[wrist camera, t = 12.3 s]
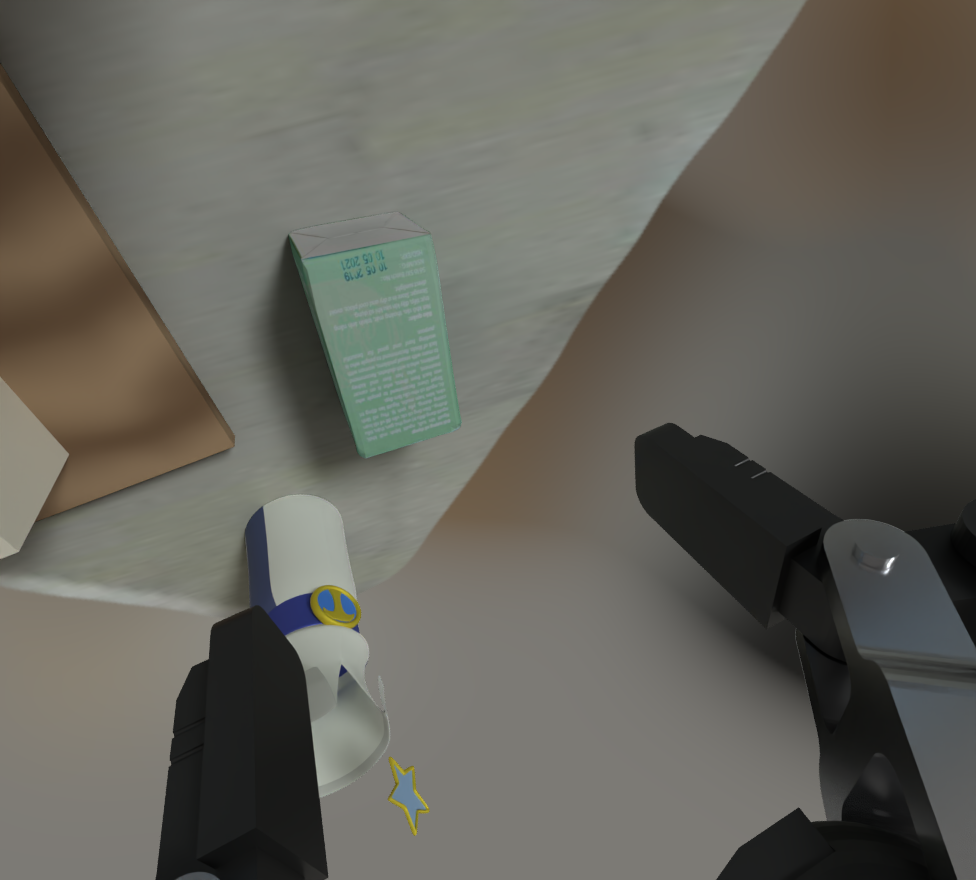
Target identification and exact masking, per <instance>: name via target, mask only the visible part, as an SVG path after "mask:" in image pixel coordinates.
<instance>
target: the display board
mask: <svg viewBox="0 0 976 880" xmlns="http://www.w3.org/2000/svg"><path fill="white" fill-rule="evenodd" d="M0 377H1V378H2V379H3V380H4V381H5V383H6V384H7V385H8V386H9V387H10V388H11V389H12V390H13V392H14V393H15V394H16V395H17V396H18V397H19V398H20V399H21V401H22V402H23V403H24V404H25V405H26V406H27V407H28V408H29V410H30V411H31V412H32V413H33V414H34V415H35V416H36V417H37V419H38V420H39V421H40V422H41V423H42V424H43V425H44V426H45V428H46V429H47V430H48V431H49V432H50V433H51V434H52V435H53V437H54V438H55V439H56V440H57V441H58V442H59V443H60V444H61V446H62V447H63V448H64V449H65V450H66V451H67V452H68V453H69V456H68V458H67V460H66V462H65V464H64V466H63V468H62V470H61V472H60V474H59V475H58V477H57V479H56V481H55V483H54V485H53V487H52V489H51V491H50V493H49V495H48V497H47V499H46V501H45V502H44V504H43V506H42V508H41V510H40V512H39V514H38V516H37V518H36V520H35V522H37V521H39V520H42V519H44V518H47V517H50V516H52V515H55V514H58V513H60V512H63V511H66V510H68V509H71V508H74V507H76V506H79V505H81V504H84V503H87V502H89V501H92V500H95V499H97V498H100V497H103V496H105V495H108V494H110V493H113V492H116V491H118V490H121V489H124V488H126V487H129V486H132V485H134V484H137V483H139V482H142V481H145V480H147V479H150V478H153V477H155V476H158V475H161V474H163V473H166V472H168V471H171V470H174V469H176V468H179V467H182V466H184V465H187V464H190V463H192V462H195V461H198V460H200V459H203V458H205V457H208V456H211V455H213V454H216V453H219V452H221V451H224V450H227V449H229V448H232V447H234V446H235V435H234V434H233V432H232V431H231V429H230V427H229V426H228V424H227V423H226V421H225V420H224V418H223V416H222V415H221V413H220V412H219V410H218V408H217V407H216V405H215V404H214V402H213V400H212V399H211V397H210V396H209V394H208V393H207V391H206V389H205V388H204V386H203V385H202V383H201V381H200V380H199V378H198V377H197V375H196V373H195V372H194V370H193V369H192V367H191V365H190V364H189V362H188V361H187V359H186V358H185V356H184V354H183V353H182V351H181V350H180V348H179V346H178V345H177V343H176V342H175V340H174V338H173V337H172V335H171V334H170V332H169V331H168V329H167V327H166V326H165V324H164V323H163V321H162V319H161V318H160V316H159V315H158V313H157V311H156V310H155V308H154V307H153V305H152V304H151V302H150V300H149V299H148V297H147V296H146V294H145V292H144V291H143V289H142V288H141V286H140V284H139V283H138V281H137V280H136V278H135V277H134V275H133V273H132V272H131V270H130V269H129V267H128V265H127V264H126V262H125V261H124V259H123V257H122V256H121V254H120V253H119V251H118V250H117V248H116V246H115V245H114V243H113V242H112V240H111V238H110V237H109V235H108V234H107V232H106V230H105V229H104V227H103V226H102V224H101V222H100V221H99V219H98V218H97V216H96V215H95V213H94V211H93V210H92V208H91V207H90V205H89V203H88V202H87V200H86V199H85V197H84V195H83V194H82V192H81V191H80V189H79V188H78V186H77V184H76V183H75V181H74V180H73V178H72V176H71V175H70V173H69V172H68V170H67V168H66V167H65V165H64V164H63V162H62V161H61V159H60V157H59V156H58V154H57V153H56V151H55V149H54V148H53V146H52V145H51V143H50V141H49V140H48V138H47V137H46V135H45V134H44V132H43V130H42V129H41V127H40V126H39V124H38V122H37V121H36V119H35V118H34V116H33V114H32V113H31V111H30V110H29V108H28V107H27V105H26V103H25V102H24V100H23V99H22V97H21V95H20V94H19V92H18V91H17V89H16V87H15V86H14V84H13V83H12V81H11V79H10V78H9V76H8V75H7V73H6V72H5V70H4V68H3V67H2V65H1V64H0Z"/></svg>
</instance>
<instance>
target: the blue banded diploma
mask: <svg viewBox="0 0 976 880" xmlns="http://www.w3.org/2000/svg"><path fill="white" fill-rule="evenodd" d="M245 543H246V552H247V562H248V574H249V597H250V608H251V607H253V606H255V605H259V606H261V607H262V608H263V609H264V610H265V612H266V613H267V614H268V615H269V617H270V618H271V619H272V620H273V622H274V623H275V624H276V625H277V627H278V628H279V629H280V630H281V632H282V633H283V634H284V636H285V637H286V638H287V639H288V641H289V642H290V643H291V644H292V646H293V647H294V648H295V650H296V652H297V653H298V655H299V658H300V660H301V663H302V665H303V669H304V672H305V677H306V684H307V693H308V702H309V710H310V719H311V728H312V737H313V746H314V755H315V763H316V772H317V781H318V790H319V798H321V797H324V796H327V795H329V794H332V793H334V792H336V791H338V790H340V789H342V788H344V787H346V786H348V785H350V784H351V783H353V782H354V781H356V780H357V779H358V778H360V777H361V776H363V775H364V774H365V773H366V772H367V771H368V770H369V769H371V768H372V767H373V765H375V764H376V762H377V761H378V760H379V759H380V758H381V756H382V755H383V754H384V752H385V751H386V749H387V747H388V745H389V742H390V726H389V719H388V715H387V712H386V706H385V692H384V687H383V683H382V680H381V677H380V676H379V679H378V685H379V691H380V696H381V702H382V706H383V708H384V712H383V711H381V710H380V708H379V707H378V706H377V705H376V703H375V702H374V700H373V699H372V697H371V695H370V693H369V691H368V689H367V686H366V683H365V677H364V671H365V667H366V665H367V662H368V659H369V647H368V643H367V641H366V640H365V638H364V637H363V636H362V635H361V634H360V633H359V628H358V623H359V621H360V618H361V609H360V606H359V604H358V602H357V596H356V589H355V584H354V580H353V575H352V571H351V566H350V562H349V557H348V552H347V546H346V540H345V534H344V527H343V521H342V517H341V515H340V513H339V511H338V510H337V508H336V507H335V506H334V505H333V504H331V503H330V502H328V501H327V500H325V499H323V498H321V497H317V496H313V495H304V494H298V495H289V496H284V497H281V498H278V499H275V500H273V501H271V502H269V503H267V504H265V505H264V506H263V507H261V508H260V509H259V510H258V511H257V512H256V513H255V514H254V515H253V516H252V517H251V519H250V520H249V522H248V524H247V527H246V531H245ZM389 763H390V766H391V769H392V773H393V776H394V780H395V784H396V785H395V787H394V788H393V790H392V792H391V794H390V796H389V798H388V801H390V802H391V803H393V804H395V805H397V806H399V807H400V808H402V809H403V810H404V812H405V815H406V817H407V820H408V823H409V825H410V828H411V831H412V833H413V835H414V836H415V835H416V834H417V825H418V813H428V812H429V808H428V806H427V805H426V803H425V802H424V800H423V799H422V797H421V796H420V795H419V793H418V792H417V790H416V783H415V771H414V766H411V767H408V768H407V769H405V770H403V769H402V768H401V767H400V766H399V765H398V763H397V762H396V761H395V760H394V759H393V758H392V757H389Z"/></svg>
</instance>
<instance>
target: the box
mask: <svg viewBox="0 0 976 880" xmlns="http://www.w3.org/2000/svg"><path fill="white" fill-rule="evenodd" d="M288 236H289V240H290V245H291V249H292V254H293V257H294V260H295V263H296V266H297V269H298V272H299V276H300V279H301V282H302V285H303V288H304V291H305V295H306V298H307V301H308V304H309V307H310V310H311V313H312V316H313V319H314V323H315V326H316V329H317V332H318V335H319V338H320V341H321V344H322V347H323V351H324V354H325V357H326V360H327V363H328V366H329V370H330V373H331V376H332V379H333V382H334V385H335V388H336V391H337V394H338V397H339V400H340V403H341V406H342V408H343V411H344V414H345V417H346V420H347V422H348V425H349V428H350V431H351V434H352V436H353V439H354V442H355V444H356V449H357V452H358V454H359V455H360V456H361V457H364V458H369V457H372V456H375V455H378V454H382V453H385V452H388V451H392V450H395V449H398V448H401V447H405V446H408V445H411V444H414V443H417V442H420V441H424V440H427V439H430V438H433V437H436V436H439V435H443V434H446V433H450V432H453V431H455V430H457V429H459V428H460V426H461V423H462V422H461V417H460V412H459V406H458V400H457V394H456V388H455V382H454V376H453V369H452V362H451V356H450V349H449V342H448V335H447V329H446V322H445V315H444V308H443V301H442V293H441V286H440V280H439V273H438V267H437V260H436V255H435V250H434V246H433V241H432V237H431V233H430V232H429V231H427V230H425V229H424V228H422V227H420V226H419V225H417V224H416V223H414V222H413V221H412V220H410V219H409V218H407V217H406V216H404V215H403V214H402V213H400V212H392V213H385V214H379V215H374V216H368V217H362V218H356V219H350V220H345V221H339V222H333V223H327V224H322V225H317V226H312V227H307V228H303V229H299V230H295V231H292V232H290V233H289V234H288Z"/></svg>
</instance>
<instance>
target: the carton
mask: <svg viewBox="0 0 976 880" xmlns="http://www.w3.org/2000/svg"><path fill="white" fill-rule="evenodd" d="M68 456H69V453H68V452H67V451H66V450H65V449H64V448H63V447H62V446H61V444H60V443H59V442H58V441H57V440H56V439H55V438H54V437H53V435H52V434H51V433H50V432H49V431H48V430H47V429H46V428H45V426H44V425H43V424H42V423H41V422H40V421H39V420H38V419H37V417H36V416H35V415H34V414H33V413H32V412H31V411H30V410H29V408H28V407H27V406H26V405H25V404H24V403H23V402H22V401H21V399H20V398H19V397H18V396H17V395H16V394H15V393H14V392H13V390H12V389H11V388H10V387H9V386H8V385H7V384H6V383H5V381H4V380H3V379H2V378H1V377H0V559H2V558H4V557H7V556H10V555H12V554H15V553H18V552H19V551H20V549H21V547H22V545H23V543H24V541H25V539H26V537H27V535H28V533H29V531H30V529H31V528H32V526H33V524H34V522H35V520H36V518H37V516H38V514H39V512H40V510H41V508H42V506H43V504H44V502H45V501H46V499H47V497H48V495H49V493H50V491H51V489H52V487H53V485H54V483H55V481H56V479H57V477H58V475H59V474H60V472H61V470H62V468H63V466H64V464H65V462H66V460H67V458H68Z"/></svg>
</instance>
